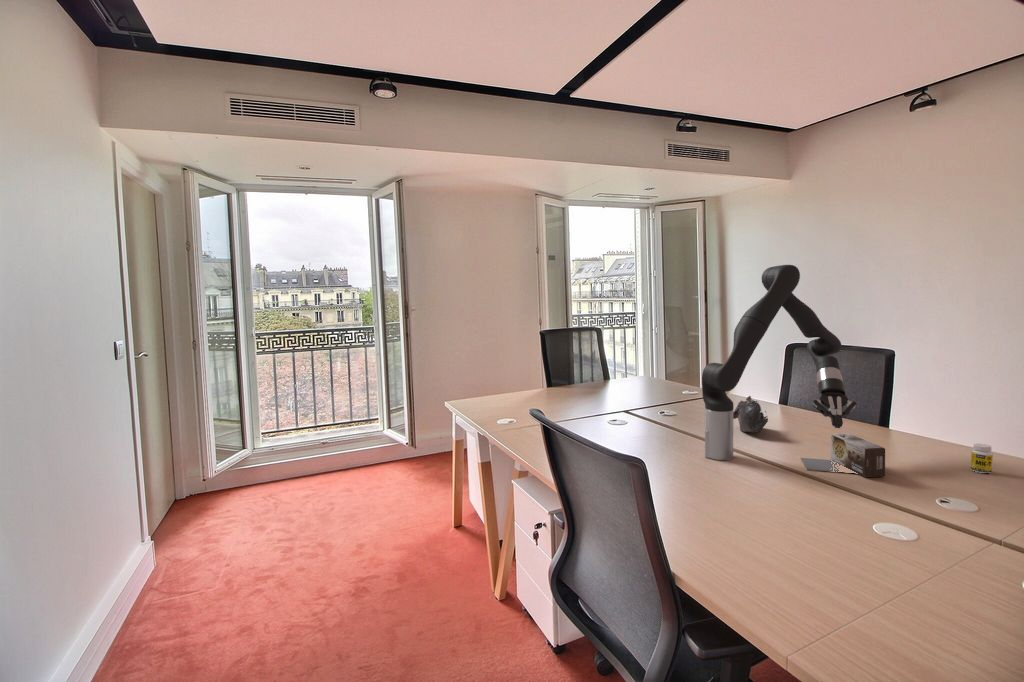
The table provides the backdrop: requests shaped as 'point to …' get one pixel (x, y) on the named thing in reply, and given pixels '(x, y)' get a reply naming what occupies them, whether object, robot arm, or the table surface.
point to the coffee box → (858, 455)
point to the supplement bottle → (981, 458)
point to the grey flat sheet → (819, 464)
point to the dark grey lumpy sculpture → (750, 416)
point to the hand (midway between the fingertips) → (838, 426)
